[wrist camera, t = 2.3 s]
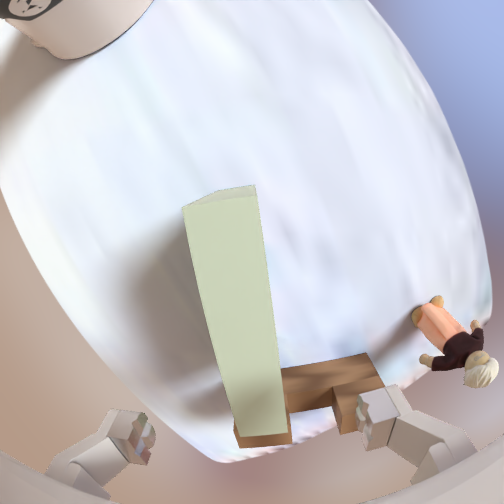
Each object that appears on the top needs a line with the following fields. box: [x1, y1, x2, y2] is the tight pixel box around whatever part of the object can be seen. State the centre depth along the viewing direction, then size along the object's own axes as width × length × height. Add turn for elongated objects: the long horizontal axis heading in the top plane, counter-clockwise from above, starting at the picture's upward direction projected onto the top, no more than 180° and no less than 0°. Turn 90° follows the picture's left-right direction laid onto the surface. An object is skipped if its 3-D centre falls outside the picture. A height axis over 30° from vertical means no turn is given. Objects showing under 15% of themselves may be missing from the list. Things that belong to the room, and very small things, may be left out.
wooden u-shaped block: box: [233, 353, 385, 448], centre depth 23 cm, size 14×3×8 cm, turn 98°
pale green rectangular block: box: [182, 185, 288, 437], centre depth 18 cm, size 14×3×12 cm, turn 8°
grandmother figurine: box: [411, 296, 499, 388], centre depth 19 cm, size 8×4×13 cm, turn 125°
